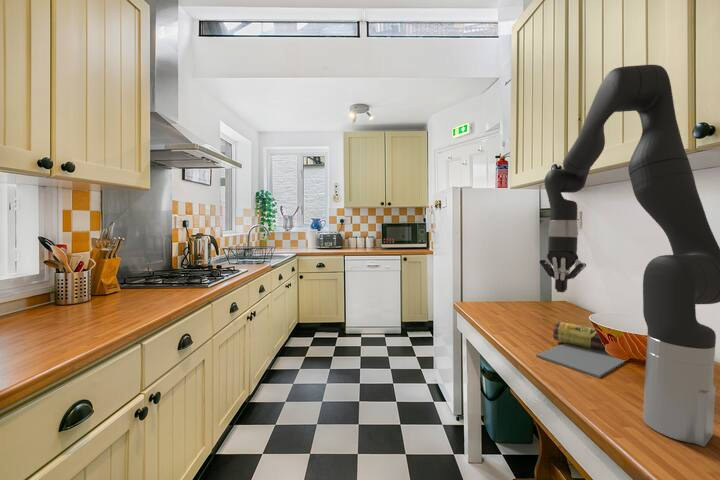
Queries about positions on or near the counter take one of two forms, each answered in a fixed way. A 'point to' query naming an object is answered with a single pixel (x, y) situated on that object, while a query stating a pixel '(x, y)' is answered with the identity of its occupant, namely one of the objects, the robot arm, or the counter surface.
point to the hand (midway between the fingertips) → (561, 291)
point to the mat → (582, 359)
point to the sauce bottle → (577, 335)
